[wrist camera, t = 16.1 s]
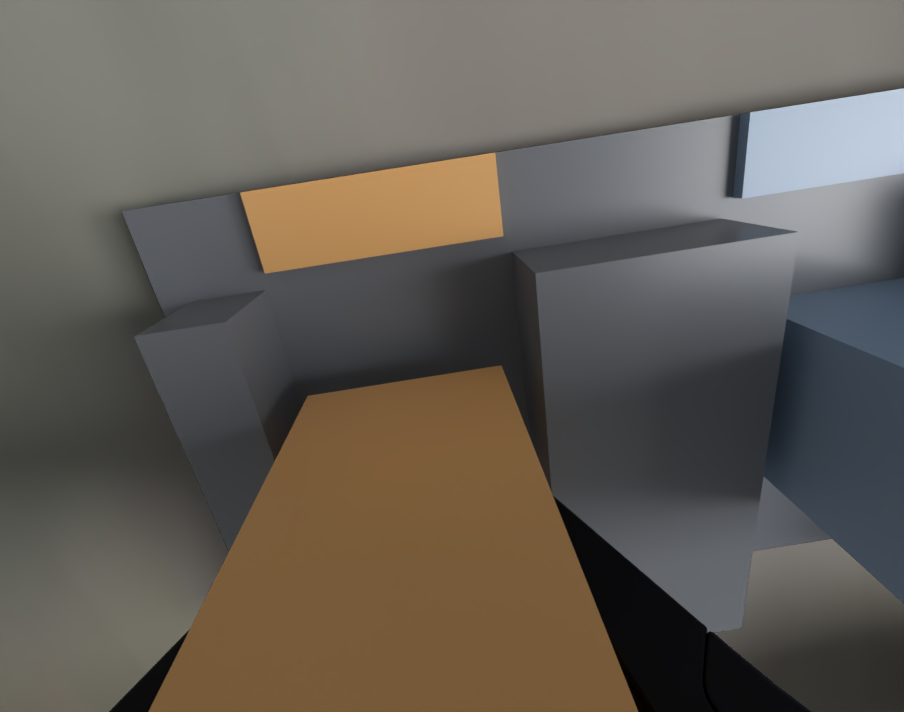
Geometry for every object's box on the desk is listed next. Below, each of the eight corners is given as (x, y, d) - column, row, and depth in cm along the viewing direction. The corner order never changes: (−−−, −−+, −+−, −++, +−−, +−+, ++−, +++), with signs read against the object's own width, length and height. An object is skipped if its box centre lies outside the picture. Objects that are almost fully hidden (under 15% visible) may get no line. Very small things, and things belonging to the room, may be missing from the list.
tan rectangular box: (518, 517, 11) (720, 1255, 4) (352, 543, 11) (204, 1334, 4) (501, 365, 9) (794, 1108, 2) (307, 396, 9) (-124, 1248, 2)
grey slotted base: (1060, 63, 10) (1308, 23, 7) (920, 502, 15) (1037, 581, 12) (144, 208, 10) (36, 224, 7) (296, 601, 15) (266, 703, 12)
